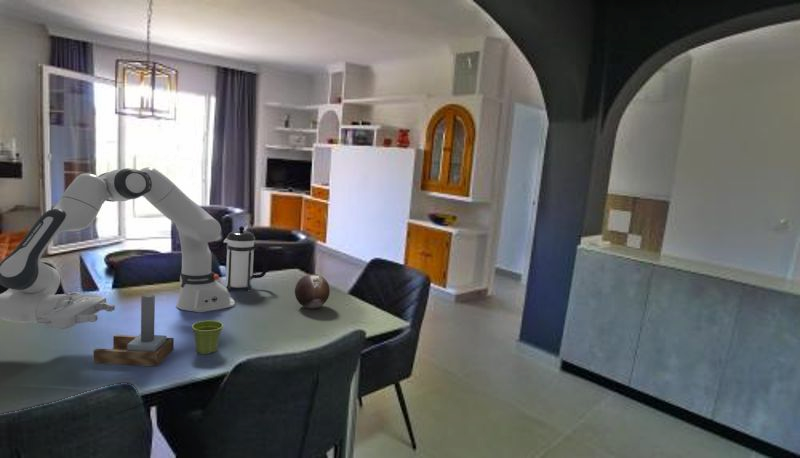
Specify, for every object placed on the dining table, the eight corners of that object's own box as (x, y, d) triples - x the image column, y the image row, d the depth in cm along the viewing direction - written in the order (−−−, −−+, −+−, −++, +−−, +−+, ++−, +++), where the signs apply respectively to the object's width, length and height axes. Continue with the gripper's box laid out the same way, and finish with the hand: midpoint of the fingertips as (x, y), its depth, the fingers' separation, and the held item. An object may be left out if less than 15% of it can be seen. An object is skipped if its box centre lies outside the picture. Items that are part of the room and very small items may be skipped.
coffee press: (237, 294, 209) (240, 230, 205) (215, 287, 217) (217, 225, 213) (267, 287, 224) (270, 227, 219) (245, 280, 232) (248, 222, 228)
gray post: (166, 350, 146) (167, 293, 143) (154, 361, 138) (155, 301, 135) (140, 349, 145) (140, 291, 142) (127, 360, 137) (127, 299, 134)
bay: (173, 349, 148) (173, 338, 147) (157, 366, 136) (157, 353, 136) (115, 346, 146) (115, 334, 146) (93, 363, 135) (93, 350, 134)
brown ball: (304, 315, 191) (307, 280, 189) (287, 304, 202) (289, 271, 200) (334, 310, 201) (337, 277, 199) (317, 300, 212) (319, 269, 210)
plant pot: (197, 343, 154) (197, 319, 153) (225, 345, 155) (226, 321, 154) (186, 355, 145) (187, 329, 144) (217, 357, 146) (218, 331, 144)
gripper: (31, 310, 126) (84, 314, 128) (77, 290, 147) (122, 293, 148) (32, 332, 127) (84, 335, 129) (77, 309, 147) (122, 312, 149)
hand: (105, 313), depth 138 cm, fingers open, 8 cm apart
